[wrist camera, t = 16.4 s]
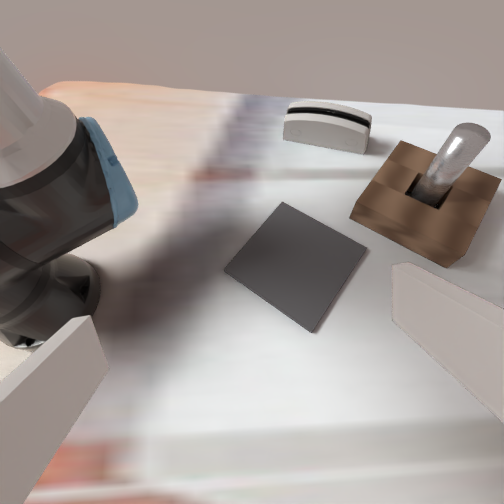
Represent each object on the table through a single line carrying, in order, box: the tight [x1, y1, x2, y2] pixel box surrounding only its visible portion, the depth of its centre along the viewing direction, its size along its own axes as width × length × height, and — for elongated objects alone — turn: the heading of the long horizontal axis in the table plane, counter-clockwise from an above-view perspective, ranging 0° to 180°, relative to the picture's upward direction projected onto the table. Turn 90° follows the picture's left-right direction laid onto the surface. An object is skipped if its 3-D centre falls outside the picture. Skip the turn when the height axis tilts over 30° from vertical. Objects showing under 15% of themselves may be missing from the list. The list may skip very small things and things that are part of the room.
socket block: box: [350, 141, 502, 268], centre depth 44 cm, size 16×16×4 cm
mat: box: [224, 202, 367, 333], centre depth 43 cm, size 16×16×1 cm
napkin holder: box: [283, 101, 372, 155], centre depth 51 cm, size 17×5×10 cm, turn 70°
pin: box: [409, 123, 491, 207], centre depth 40 cm, size 4×4×15 cm
